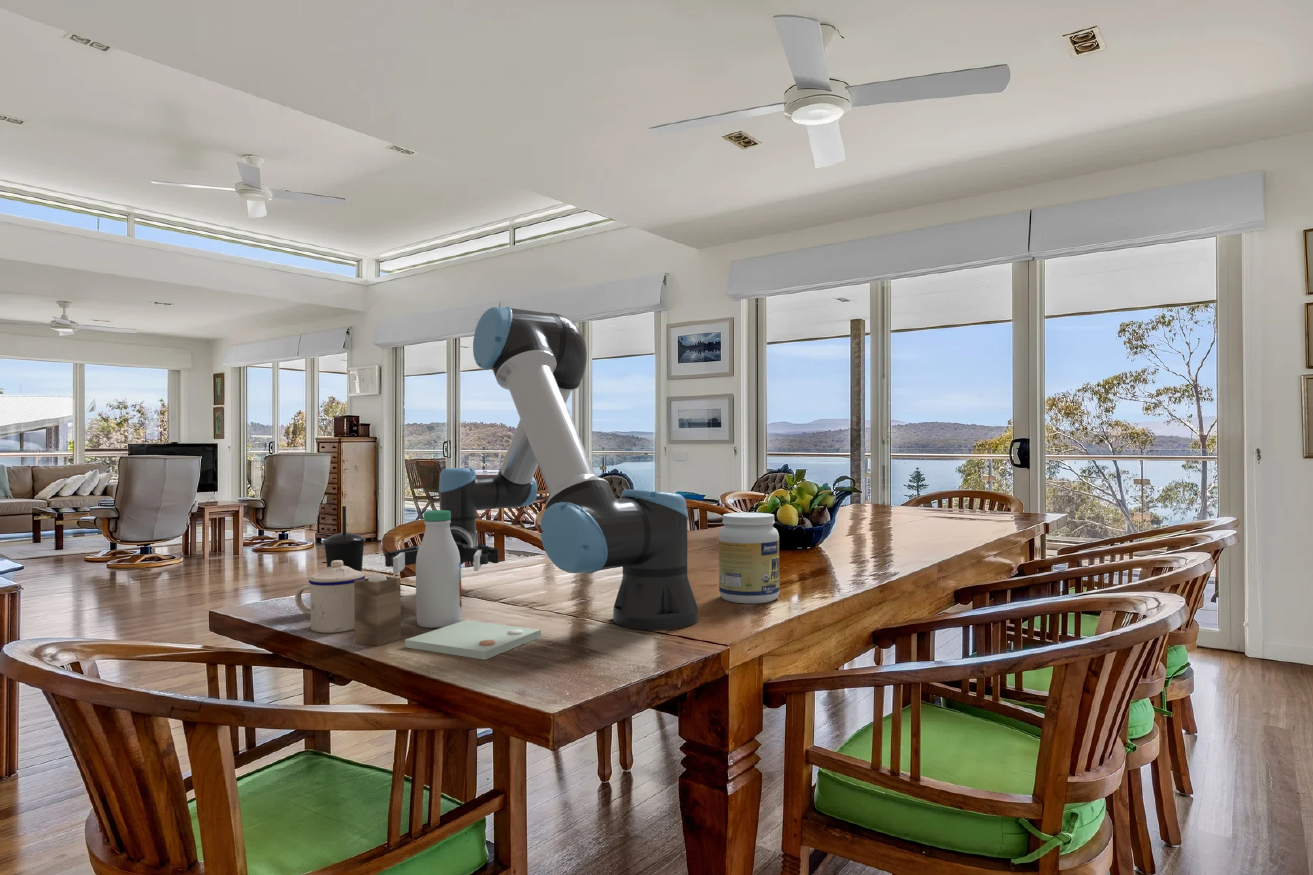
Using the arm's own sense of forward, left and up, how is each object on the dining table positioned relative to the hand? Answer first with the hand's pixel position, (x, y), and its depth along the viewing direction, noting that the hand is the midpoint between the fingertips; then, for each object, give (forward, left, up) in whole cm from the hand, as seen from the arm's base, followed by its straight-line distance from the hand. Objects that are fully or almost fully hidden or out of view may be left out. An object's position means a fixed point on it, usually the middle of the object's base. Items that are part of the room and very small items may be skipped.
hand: (435, 564), depth 130 cm
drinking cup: (+27, -4, -11) cm, 29 cm away
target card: (-12, +4, -11) cm, 17 cm away
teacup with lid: (+18, +7, -11) cm, 22 cm away
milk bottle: (+2, -3, -11) cm, 12 cm away
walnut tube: (+3, +10, -11) cm, 15 cm away
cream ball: (+3, +10, -3) cm, 11 cm away
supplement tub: (-41, -45, -11) cm, 62 cm away
